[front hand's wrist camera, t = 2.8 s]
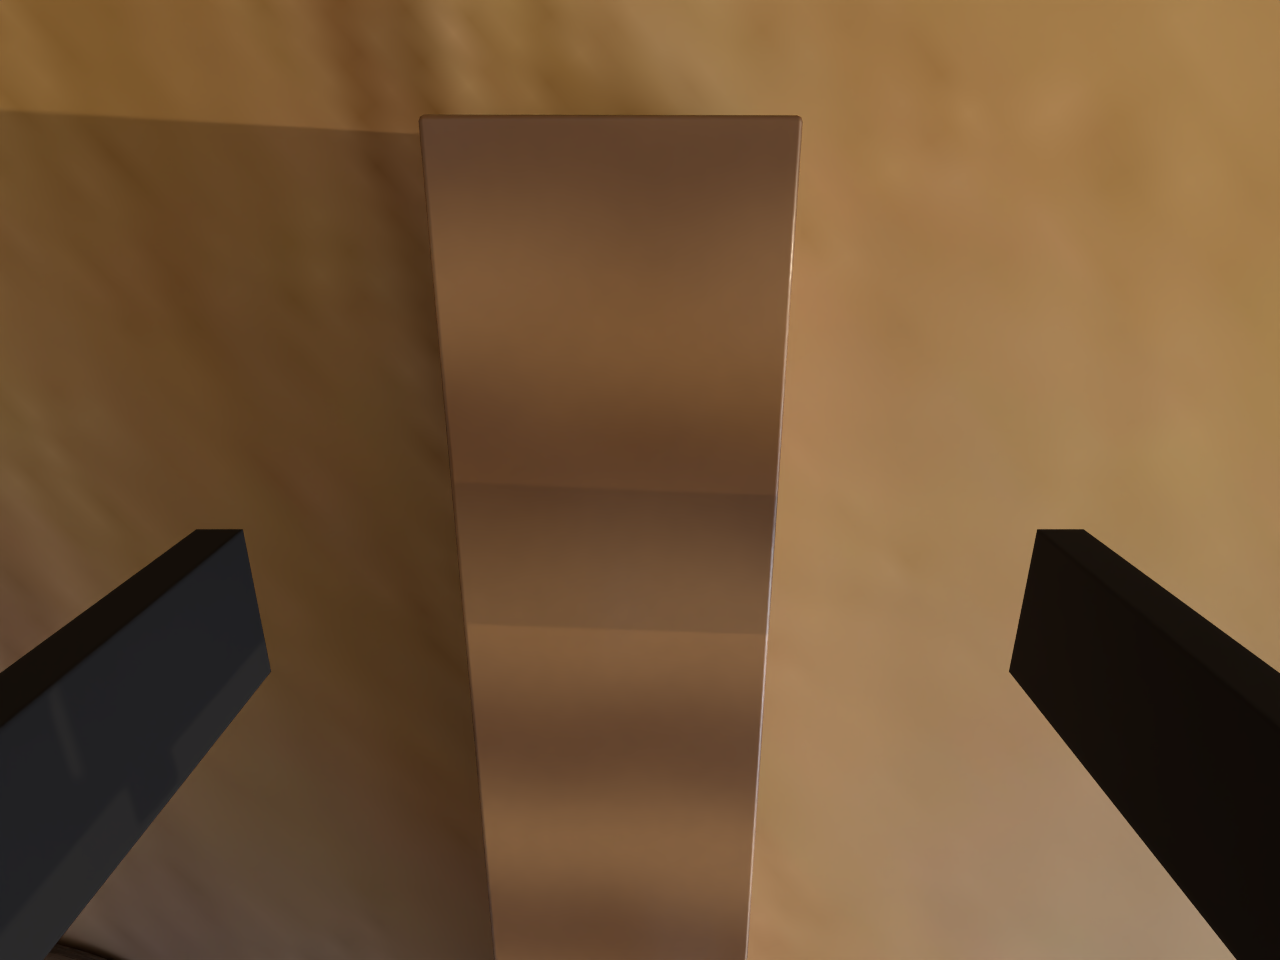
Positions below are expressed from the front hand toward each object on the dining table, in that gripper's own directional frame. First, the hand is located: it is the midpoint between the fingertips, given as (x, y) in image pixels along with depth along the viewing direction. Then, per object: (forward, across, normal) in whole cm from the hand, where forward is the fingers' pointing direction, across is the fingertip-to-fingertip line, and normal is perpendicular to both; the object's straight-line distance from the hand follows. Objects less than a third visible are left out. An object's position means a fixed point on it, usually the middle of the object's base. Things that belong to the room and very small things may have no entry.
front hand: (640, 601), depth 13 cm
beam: (+8, 0, -26) cm, 27 cm away
